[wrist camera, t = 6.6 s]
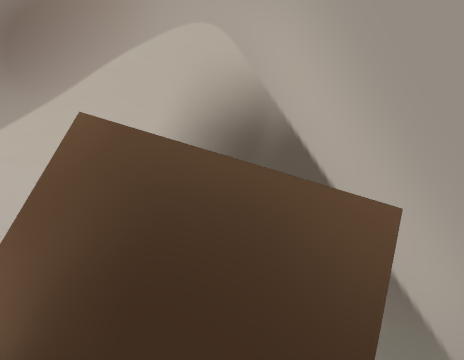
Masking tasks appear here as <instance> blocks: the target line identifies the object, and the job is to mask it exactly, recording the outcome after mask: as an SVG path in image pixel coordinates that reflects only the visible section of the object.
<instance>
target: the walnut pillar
mask: <svg viewBox="0 0 464 360" xmlns="http://www.w3.org/2000/svg"><path fill="white" fill-rule="evenodd" d="M401 215H402V209H401V208H398V207H395V206H391V205H388V204H385V203H381V202H377V201H375V200H371V199H368V198H365V197H361V196H358V195H355V194H351V193H348V192H345V191H341V190H338V189H335V188H331V187H328V186H325V185H321V184H318V183H315V182H311V181H308V180H305V179H301V178H298V177H295V176H291V175H288V174H285V173H281V172H278V171H275V170H271V169H268V168H265V167H261V166H258V165H255V164H251V163H248V162H245V161H241V160H238V159H235V158H232V157H228V156H225V155H222V154H218V153H215V152H212V151H208V150H205V149H202V148H198V147H195V146H192V145H188V144H185V143H182V142H178V141H175V140H172V139H168V138H165V137H162V136H158V135H155V134H152V133H148V132H145V131H142V130H138V129H135V128H132V127H128V126H125V125H122V124H118V123H115V122H112V121H108V120H105V119H102V118H98V117H95V116H92V115H88V114H85V113H82V112H79V113H78V115H77V117H76V118H75V120H74V122H73V123H72V125H71V127H70V128H69V130H68V132H67V133H66V135H65V137H64V138H63V140H62V142H61V143H60V145H59V147H58V148H57V150H56V152H55V153H54V155H53V157H52V158H51V160H50V162H49V163H48V165H47V167H46V169H45V170H44V172H43V174H42V175H41V177H40V179H39V180H38V182H37V184H36V185H35V187H34V189H33V190H32V192H31V194H30V195H29V197H28V199H27V200H26V202H25V204H24V205H23V207H22V209H21V210H20V212H19V214H18V215H17V217H16V219H15V220H14V222H13V224H12V225H11V227H10V229H9V230H8V232H7V234H6V235H5V237H4V239H3V240H2V242H1V244H0V360H375V354H376V349H377V344H378V338H379V333H380V328H381V322H382V317H383V311H384V306H385V301H386V295H387V290H388V285H389V279H390V274H391V268H392V263H393V257H394V252H395V247H396V241H397V236H398V231H399V225H400V220H401Z"/></svg>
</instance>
